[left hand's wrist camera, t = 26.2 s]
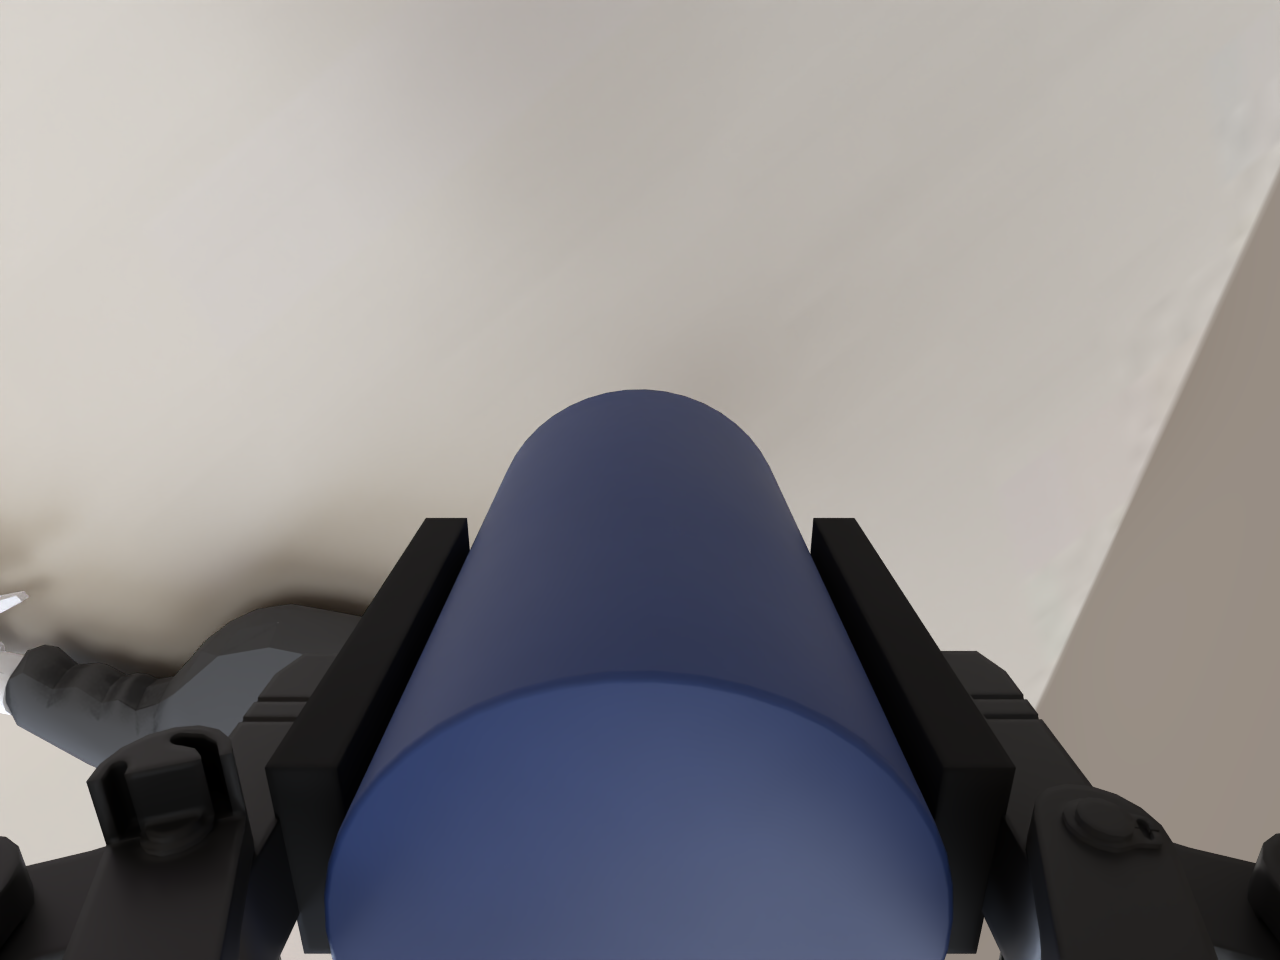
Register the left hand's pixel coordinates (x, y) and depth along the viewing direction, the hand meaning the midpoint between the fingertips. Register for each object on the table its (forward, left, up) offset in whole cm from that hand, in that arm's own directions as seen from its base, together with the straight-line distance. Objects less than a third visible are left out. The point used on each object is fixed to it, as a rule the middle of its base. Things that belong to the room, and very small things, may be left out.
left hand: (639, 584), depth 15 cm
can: (0, 0, -3) cm, 3 cm away
